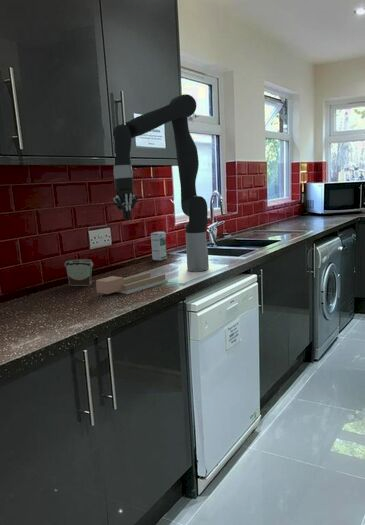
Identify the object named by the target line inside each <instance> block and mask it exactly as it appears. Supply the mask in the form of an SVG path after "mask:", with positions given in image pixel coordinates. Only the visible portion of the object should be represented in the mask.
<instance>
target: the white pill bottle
mask: <svg viewBox="0 0 365 525" xmlns="http://www.w3.org/2000/svg"><path fill="white" fill-rule="evenodd" d="M150 241H151V255H152V260H154V261H163V260H167V259H168V249H167V234H166V231H155V232H151V233H150Z"/></svg>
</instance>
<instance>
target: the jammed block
mask: <svg viewBox="0 0 365 525" xmlns="http://www.w3.org/2000/svg"><path fill="white" fill-rule="evenodd" d="M123 279H124V277H122V276H114V275H111V276H108V277H104V278H99V279H96V280H95V285H96V286H95V288H96V293H100V294H104V295H109V294H112V293H118V292H117V291H120V290H123V286H122V285H124V281H123Z"/></svg>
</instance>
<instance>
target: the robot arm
mask: <svg viewBox="0 0 365 525" xmlns="http://www.w3.org/2000/svg"><path fill="white" fill-rule="evenodd" d="M196 110H197V101H196V99H195V98H194V97H193V95H190V94H185V93H183V94H180V95H178V96H176V97H174V98H172V99H171V100H170V102H169V104H167V105H164V106H162V107H160V108H158V109H154V110H151V111H148V112H146V113H143V114H141V115H139V116H136V117H134V118H133V119H130V120H129V121H126V122H125V123H126V125H123V123H121V125H120V124H118V125H115V126H116V127H115V126H114V127H115V128H114V130H113V136H114V139H115V144H114V151H115V153H116V158H115V165H114V164H113V180H114V189H115V190H116V192H115V195H116V196H115V197H112V200H111V201H112V202H113V203H114V205H115V206H116V208H117V209H118V210H120V211H122V217H123V219H124V221H131V218H132V216H131V213H132V212H131V210H133V209H134V208H135V207H136V203H137V202H138V200H139V196H138V195H135V194H134V191H133V190H134V175H133V174H134V173H133V167H132V160H131V151H132V150H131V149H132V139H133V138H135V137H140V136H142V135H145V134H147V133H149V132H151V131H154V130H155V129H158V128H160V127H161V126H163V125H165V124H167V123H169V122H171V125H172V130H173V137H174V144H175V151H176V152H175V154H176V162H177V168H178V176H179V182H180V184H179V186H180V207H181V211H182V212H183V214H184V215H185V216H187V217H188V223H187V224H186V225H185V227H184V228H185V229H184V230H185V247H186V248H185V249H186V270H187V271H188V272H204V270H205V271H207V270H208V269H210V268H209V267H210V266H209V263H210V262H209V249H208V246H207V245H208V244H207V243H208V242H207V227H208V221H209V220H208V213H209V212H208V202H207V201H206V199H205V198H204V197H203V196H200V195H198V194H197V189H196V186H197V185H196V180H197V175H198V171H199V165H200V164H199V163H200V162H199V154H198V148H197V145H196V143H195V141H194V138H193V137H192V135H191V132H190V129H189V121H188V118H189V117H191V116H192V115H194V114H195V112H196Z"/></svg>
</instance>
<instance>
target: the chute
mask: <svg viewBox="0 0 365 525" xmlns="http://www.w3.org/2000/svg"><path fill="white" fill-rule="evenodd" d="M168 280H169V279H166V274H165V273H162V274H161V273H160V274H158V275H155V276H152V275H151V272H149V271H147V272H144V273H143V272H142V273H140V274H137V275H132V276H129V277H125V278H123V281H124V285H122V286H123V290H120V291H117V292H116V293H120V294H126V295H129V294H133V293H137V292H139V291H143V290H146V289H149V288H152V287H157V286H159V285H162V284H166V283H168Z"/></svg>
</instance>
